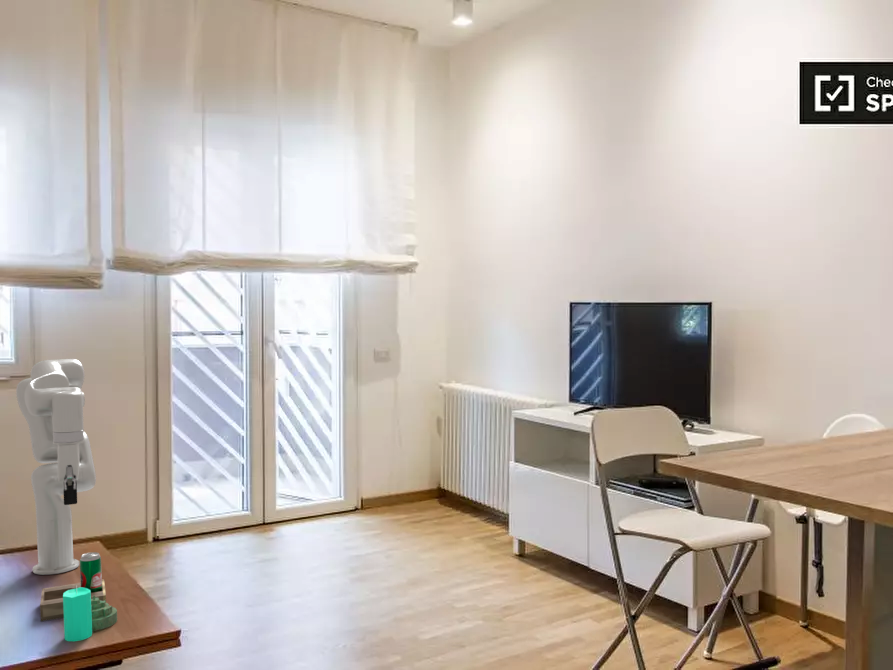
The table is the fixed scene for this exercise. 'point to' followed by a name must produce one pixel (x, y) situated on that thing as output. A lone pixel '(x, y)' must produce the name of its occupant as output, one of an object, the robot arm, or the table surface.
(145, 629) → the table surface
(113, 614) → the decorative artifact
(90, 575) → the soda can
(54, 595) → the open cardboard box
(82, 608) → the candle
